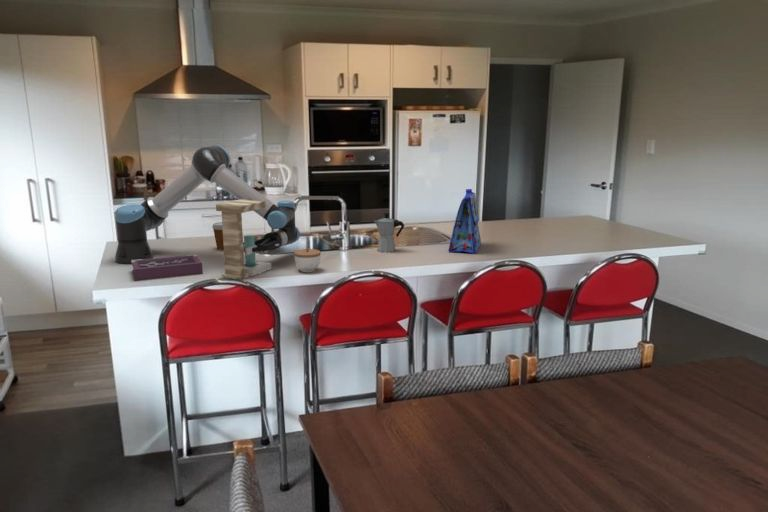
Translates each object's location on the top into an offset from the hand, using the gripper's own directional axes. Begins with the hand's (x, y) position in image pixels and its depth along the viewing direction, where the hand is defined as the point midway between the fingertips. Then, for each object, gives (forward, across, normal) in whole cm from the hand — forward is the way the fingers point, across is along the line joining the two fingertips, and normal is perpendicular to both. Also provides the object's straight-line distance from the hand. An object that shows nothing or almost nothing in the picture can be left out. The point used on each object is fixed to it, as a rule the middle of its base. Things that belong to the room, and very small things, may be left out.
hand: (241, 251), depth 229 cm
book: (+10, +29, -10) cm, 33 cm away
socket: (-5, 0, -9) cm, 11 cm away
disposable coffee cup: (-34, +36, -10) cm, 50 cm away
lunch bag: (-83, -68, -10) cm, 108 cm away
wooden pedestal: (-1, 0, -9) cm, 9 cm away
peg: (-5, 0, -7) cm, 9 cm away
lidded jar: (-16, -20, -10) cm, 28 cm away
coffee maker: (-62, -37, -10) cm, 73 cm away
